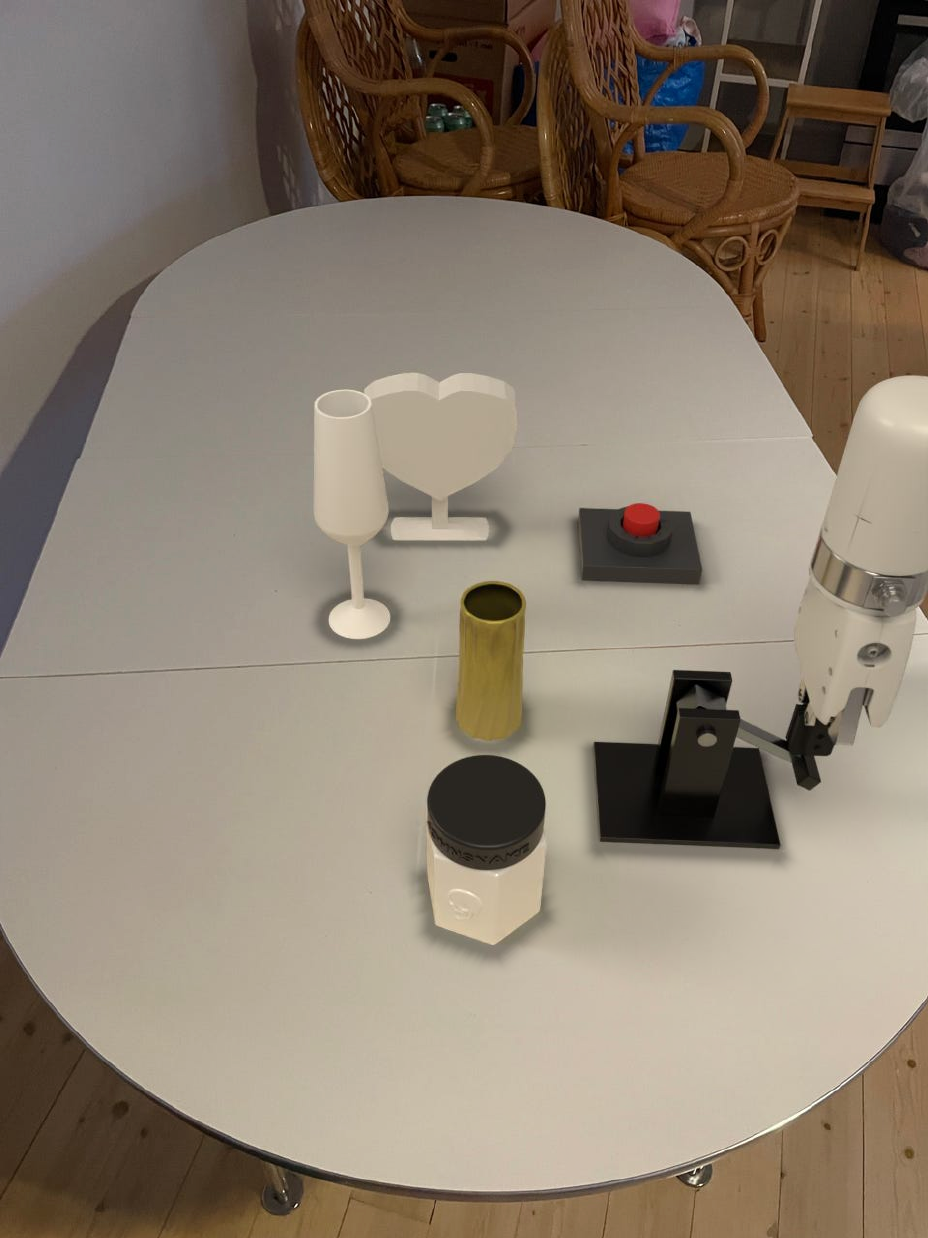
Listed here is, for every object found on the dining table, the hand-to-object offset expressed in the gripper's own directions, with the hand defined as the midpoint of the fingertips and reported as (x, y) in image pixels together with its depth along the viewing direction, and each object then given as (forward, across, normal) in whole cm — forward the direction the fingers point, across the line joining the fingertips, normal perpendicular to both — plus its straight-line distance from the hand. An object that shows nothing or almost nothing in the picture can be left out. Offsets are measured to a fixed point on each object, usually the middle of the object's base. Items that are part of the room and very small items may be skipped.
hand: (807, 747), depth 81 cm
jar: (+8, -10, +25) cm, 28 cm away
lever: (0, 0, +5) cm, 5 cm away
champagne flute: (+8, +21, +38) cm, 44 cm away
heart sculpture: (+8, +36, +31) cm, 48 cm away
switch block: (+7, +33, +10) cm, 35 cm away
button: (+4, +33, +10) cm, 35 cm away
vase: (+8, +8, +25) cm, 27 cm away
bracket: (+7, 0, +9) cm, 11 cm away
